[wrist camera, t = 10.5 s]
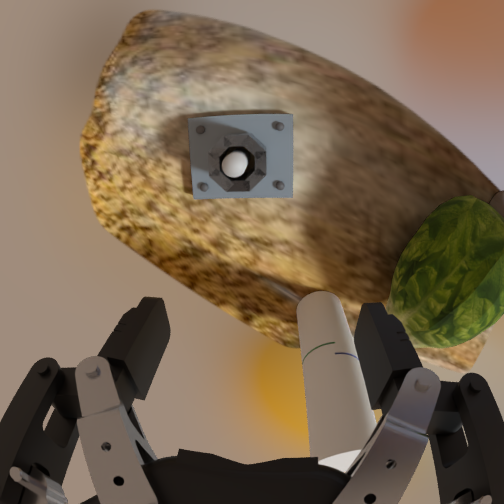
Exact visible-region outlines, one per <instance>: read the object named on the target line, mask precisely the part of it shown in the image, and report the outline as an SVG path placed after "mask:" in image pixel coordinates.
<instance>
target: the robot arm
mask: <svg viewBox="0 0 504 504" xmlns="http://www.w3.org/2000/svg"><path fill="white" fill-rule="evenodd" d="M489 205H490V206H492V207H493V208H494V209H495V210H496V211H497V212H498V213H499V214H500V215H501V216H502V217H503V218H504V191H500V192H498V193H497V194H496V195H495V196H494V197H493V198H492V200H491V202H490V203H489ZM169 339H170V325H169V321H168V317H167V313H166V309H165V304H164V301H163V299H162V298H156V297H144V298H143V299H142V300H141V302H140V303H139V305H138V306H137V308H132V309H130V310H129V311H128V312H126V313H125V314H124V315H123V316H122V318H121V319H120V321H119V322H118V325H117V326H116V327H115V329H114V332H112V333H111V335H110V336H109V338H108V339H107V341H106V343H105V344H104V346H103V347H102V349H101V351H100V352H99V354H98V355H97V356H93V357H89V358H86V359H84V360H83V361H82V362H80V363H79V365H78V366H77V367H76V368H60V366H59V365H58V363H57V361H56V360H55V359H53V358H43V359H41V360H39V361H37V362H36V363H35V364H34V365H33V366H32V368H31V370H30V371H29V373H28V374H27V376H26V378H25V379H24V381H23V382H22V384H21V386H20V387H19V389H18V391H17V393H16V394H15V396H14V398H13V400H12V401H11V403H10V405H9V407H8V409H7V410H6V412H5V414H4V416H3V418H2V420H1V422H0V504H68V500H67V498H66V497H65V495H64V491H63V489H62V487H61V486H62V483H63V480H64V477H65V474H66V471H67V468H68V465H69V462H70V460H71V457H72V454H73V451H74V449H75V446H76V443H77V440H78V438H79V435H80V439H81V444H82V448H83V451H84V455H85V459H86V462H87V465H88V469H89V472H90V475H91V478H92V481H93V484H94V487H95V490H96V492H97V495H95V496H93V497H92V498H90V499H88V500H86V501H84V502H82V503H80V504H398V502H399V501H400V499H401V497H402V495H403V494H404V492H405V490H406V488H407V486H408V484H409V482H410V480H411V478H412V476H413V474H414V472H415V470H416V468H417V466H418V464H419V461H420V459H421V457H422V455H423V452H424V450H425V447H426V445H427V442H428V438H429V440H430V444H431V450H432V454H433V459H434V464H435V470H436V476H437V481H438V488H439V495H440V503H441V504H504V422H503V419H502V416H501V413H500V411H499V408H498V406H497V404H496V401H495V399H494V397H493V394H492V392H491V390H490V387H489V386H488V383H487V382H486V380H485V379H484V378H483V377H482V376H480V375H479V374H476V373H467V374H466V375H464V376H463V377H462V378H461V380H460V381H459V382H446V381H440V380H439V377H438V376H437V375H436V374H435V373H434V372H433V371H431V370H429V369H427V368H423V366H422V364H421V362H420V359H419V357H418V355H417V353H416V351H415V349H414V347H413V344H412V342H411V341H410V338H409V336H408V334H407V333H406V330H405V328H404V326H403V324H402V322H401V321H400V320H399V319H398V318H396V317H395V316H394V315H393V314H388V313H387V311H386V309H385V307H384V305H383V304H382V303H381V302H377V303H363V305H362V307H361V311H360V315H359V318H358V322H357V326H356V330H355V335H354V344H355V348H356V352H357V355H358V359H359V363H360V366H361V370H362V374H363V378H364V382H365V385H366V389H367V393H368V398H369V402H370V406H371V410H375V409H381V410H382V414H383V415H382V416H381V418H380V420H379V421H378V423H377V425H376V427H375V428H374V430H373V432H372V433H371V435H370V437H369V439H368V440H367V442H366V443H365V445H364V447H363V448H362V450H361V451H360V453H359V454H358V456H357V457H356V459H355V460H354V461H353V463H352V464H351V465H350V467H349V468H348V469H347V471H346V472H345V473H344V472H342V471H340V470H338V469H335V468H332V467H329V466H325V465H320V464H318V457H306V458H282V459H277V460H272V461H268V462H262V463H256V464H249V465H247V464H242V463H238V462H235V461H232V460H229V459H226V458H222V457H220V456H217V455H214V454H210V453H202V452H195V451H189V450H184V449H179V452H178V455H177V456H171V457H165V458H161V459H157V457H156V455H155V453H154V452H153V450H152V449H151V447H150V445H149V443H148V441H147V439H146V437H145V434H144V432H143V430H142V427H141V425H140V423H139V420H138V417H137V415H136V412H135V410H134V407H133V405H132V403H133V401H134V398H136V399H141V400H145V398H146V395H147V393H148V390H149V388H150V385H151V383H152V380H153V378H154V375H155V373H156V371H157V368H158V366H159V363H160V361H161V358H162V356H163V353H164V351H165V349H166V346H167V344H168V342H169ZM51 405H52V406H53V407H54V408H55V409H54V411H53V413H52V415H51V417H50V419H49V422H48V424H47V426H46V428H45V430H44V431H43V421H44V419H45V417H46V415H47V413H48V411H49V409H50V406H51ZM462 425H463V427H464V431H465V434H466V437H467V441H468V446H467V443H466V439H465V436H464V432H463V429H462ZM426 434H428V435H426Z"/></svg>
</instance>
